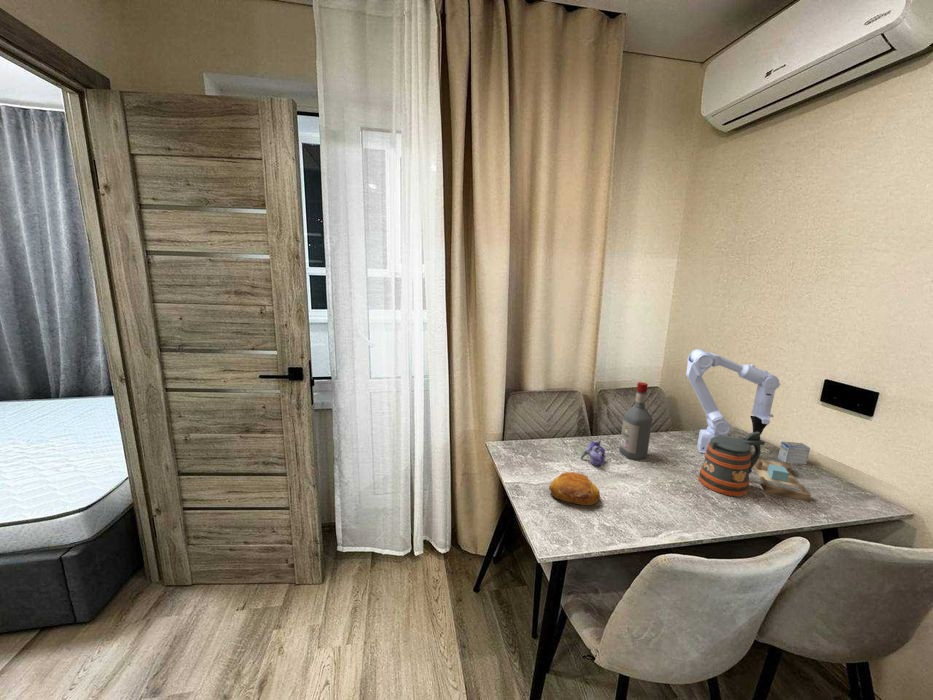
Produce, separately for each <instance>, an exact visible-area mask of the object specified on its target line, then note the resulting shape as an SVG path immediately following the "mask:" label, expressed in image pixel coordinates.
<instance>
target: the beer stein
mask: <svg viewBox="0 0 933 700" xmlns="http://www.w3.org/2000/svg"><path fill="white" fill-rule="evenodd" d="M765 444H766V442H765V441H763V440H761V435H760V432H753V431H752V432H750V433H748V434H747V435H746V436H745V437H742V436H741V437H737V438H735V437H732V436H731V437H730V436H728V435H727V436H716V437H713V438H711V441H710V442H709V443H708V447H707V450H706V453H704V455H705V456H704V457H705V458H704V460H703V464H702V465H701V466H700V469H699V470H700V471H699V474H698V480H699V482H700V484H702V485H703V486H704V487H706V488H708V489H709V490H712V492H715V493H718V494H721V495H725V496H728V497H742V496H745V495H746V494H748V493H749V486H750V477H749V476H750V474H751V473H752V472H753V471H752V470H753V469H752V468H753V466H754V464H755V463H756V462H757V460H758V458H760V455H761V450H762V449H761V446H765ZM752 446H754V452H753V453H751V451H752Z"/></svg>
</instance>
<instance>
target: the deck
mask: <svg viewBox="0 0 933 700" xmlns="http://www.w3.org/2000/svg"><path fill="white" fill-rule="evenodd" d="M769 464H771V465H777V466H782V467H785V469H786V470H787V471H788V473H789V476H788V480H787V482H783V481H778V480H773V479H771V478H770V476H769V475H768V473H767V471H768V467H769ZM789 464H790V463H787V462H783V461H782V462H779V461H773V460H770V459H769V460H767V459H762V458H760V457H759V458H758V460H757V462H756V463H755V464H754V466H753V467H752V468H753V470H754V471H755V473H756V475H757V477H758V478H759V479H760V481H761V483H759V484H760V486H761V488H762V489H763V491H764V493H765V494H766V493H767V494H770V495H775V496H778V497H779V496H780V497H785V498H790V499H793V500H794V499H795V500H799V501H804V502H808V503H809V502H810V500H811V496H812V495H811V493H810V492H809V491H808V490H807V489H806V487H805V486H804V485H803V484H800V483H799V481H798V480H797V479H796V477H795V476H794V475H793V473H791V472H792V466H791V465H789ZM768 481H769V482H774V483H779V484H783V485H789V486H794V487H798V488H799V490H800V491H798V490H793V489H788V488H784V487H779V486H774V485H770V484H769V482H768Z"/></svg>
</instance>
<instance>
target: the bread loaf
mask: <svg viewBox="0 0 933 700" xmlns="http://www.w3.org/2000/svg"><path fill="white" fill-rule="evenodd" d="M548 489H549V491H550V492H551V493H550V494H551V495H552V496H553V497H554V498H555V499H558V500H560V501H563V502H567V503H571V504H575V505H576V504H577V505H583V506H591V505H594V504H597V503H598V501H599V499H600V498H601V494H600V489H599V488H598V487H597V485H596V484H595V483H593V482H592V481H591V479H589V478H588V476H587V475H585V474H582V473H578V472H572V471H571V472H570V471H567V472H564V473H561V474H560V475H558V476H557V477H556V478H555V479H554V480H553V481H551V483H550V484H549V488H548Z"/></svg>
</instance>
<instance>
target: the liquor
mask: <svg viewBox="0 0 933 700" xmlns="http://www.w3.org/2000/svg"><path fill="white" fill-rule="evenodd" d="M648 386H649V385H648V383H646V382H642V381H640V382H637V385H636V395H635V402H634V404H633V406H632V407H630V408H629V409H628V410H626V411H625V413H624V415H623V418H622V426H621V427H622V428H621V434H620V442H619V450H618V451H619V453H620V454H621V455H623V456H624V457H625V458H626V459H627V460H628V459H629V460H633V461H638V460H645V459H646V458H647V456H648V453H649V447H650V439H651V431H652V423H653V417H652V416H653V415H652V416H651V414H650V413H649V411H648V409H646V397H647V392H648Z"/></svg>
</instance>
